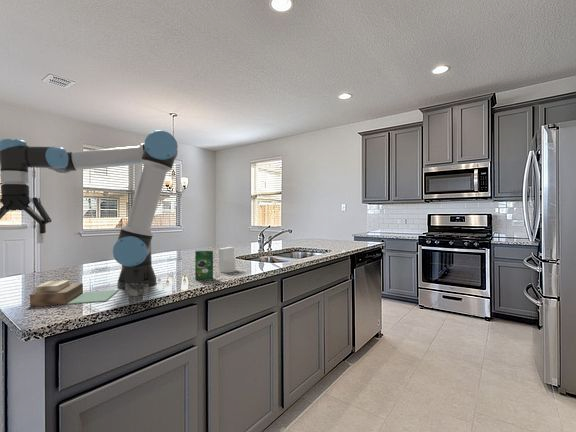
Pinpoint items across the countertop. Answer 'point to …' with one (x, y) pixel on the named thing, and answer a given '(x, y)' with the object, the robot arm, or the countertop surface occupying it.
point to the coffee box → (203, 265)
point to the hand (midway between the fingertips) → (17, 244)
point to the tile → (52, 286)
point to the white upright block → (226, 260)
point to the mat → (94, 296)
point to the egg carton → (137, 289)
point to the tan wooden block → (56, 296)
